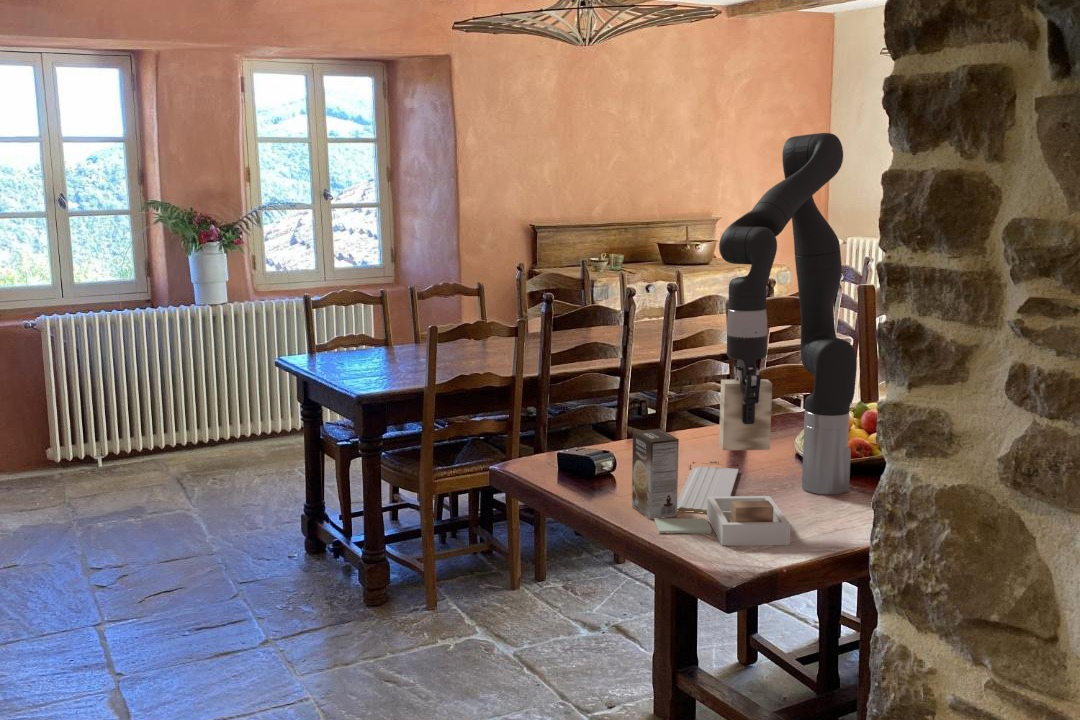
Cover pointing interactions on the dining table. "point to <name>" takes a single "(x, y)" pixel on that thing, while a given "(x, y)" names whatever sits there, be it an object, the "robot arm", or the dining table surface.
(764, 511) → the walnut offcut upper
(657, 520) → the felt mat
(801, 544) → the dining table surface
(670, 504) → the coffee box
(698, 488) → the baseboard molding
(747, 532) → the white open tray
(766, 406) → the pale wood block
